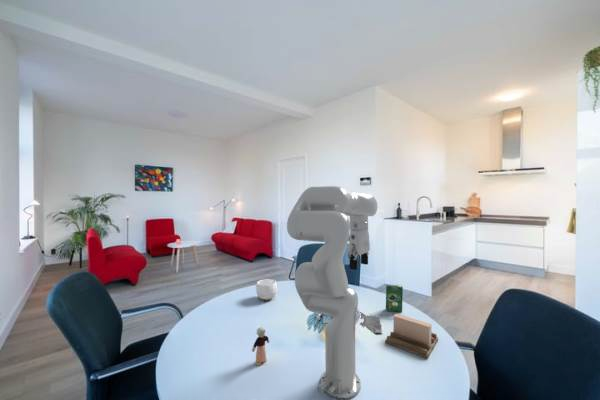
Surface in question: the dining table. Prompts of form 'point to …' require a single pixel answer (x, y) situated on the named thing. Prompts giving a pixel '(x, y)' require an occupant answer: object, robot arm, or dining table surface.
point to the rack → (412, 344)
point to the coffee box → (394, 297)
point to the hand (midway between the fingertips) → (359, 266)
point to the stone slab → (371, 323)
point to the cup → (266, 289)
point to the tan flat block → (412, 328)
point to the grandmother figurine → (260, 346)
